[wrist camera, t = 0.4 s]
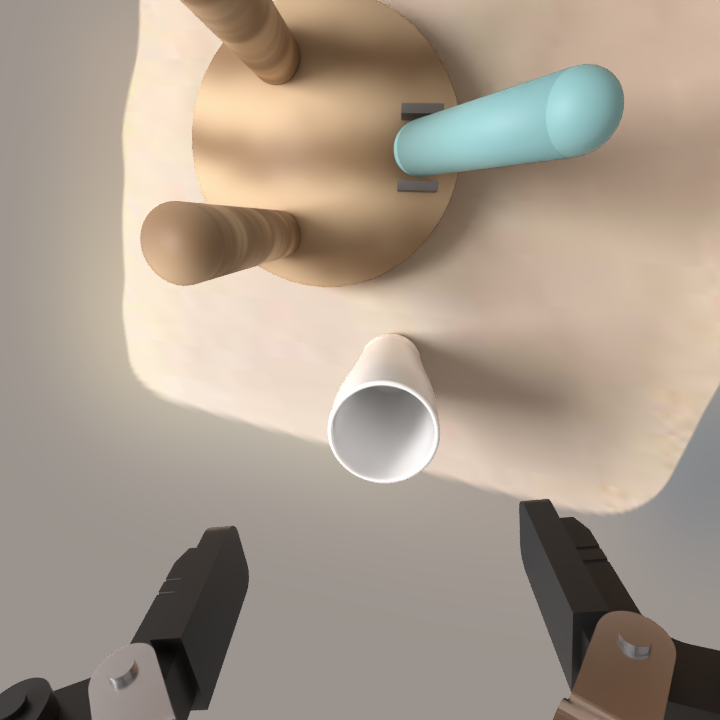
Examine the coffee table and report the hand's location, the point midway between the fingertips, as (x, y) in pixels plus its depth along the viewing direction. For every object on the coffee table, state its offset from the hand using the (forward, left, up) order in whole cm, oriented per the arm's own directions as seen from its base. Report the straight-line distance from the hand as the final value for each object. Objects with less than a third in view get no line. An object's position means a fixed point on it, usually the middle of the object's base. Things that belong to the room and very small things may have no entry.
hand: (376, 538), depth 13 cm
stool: (-13, -6, -29) cm, 32 cm away
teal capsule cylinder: (-13, 0, -25) cm, 28 cm away
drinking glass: (+3, 0, -29) cm, 29 cm away
